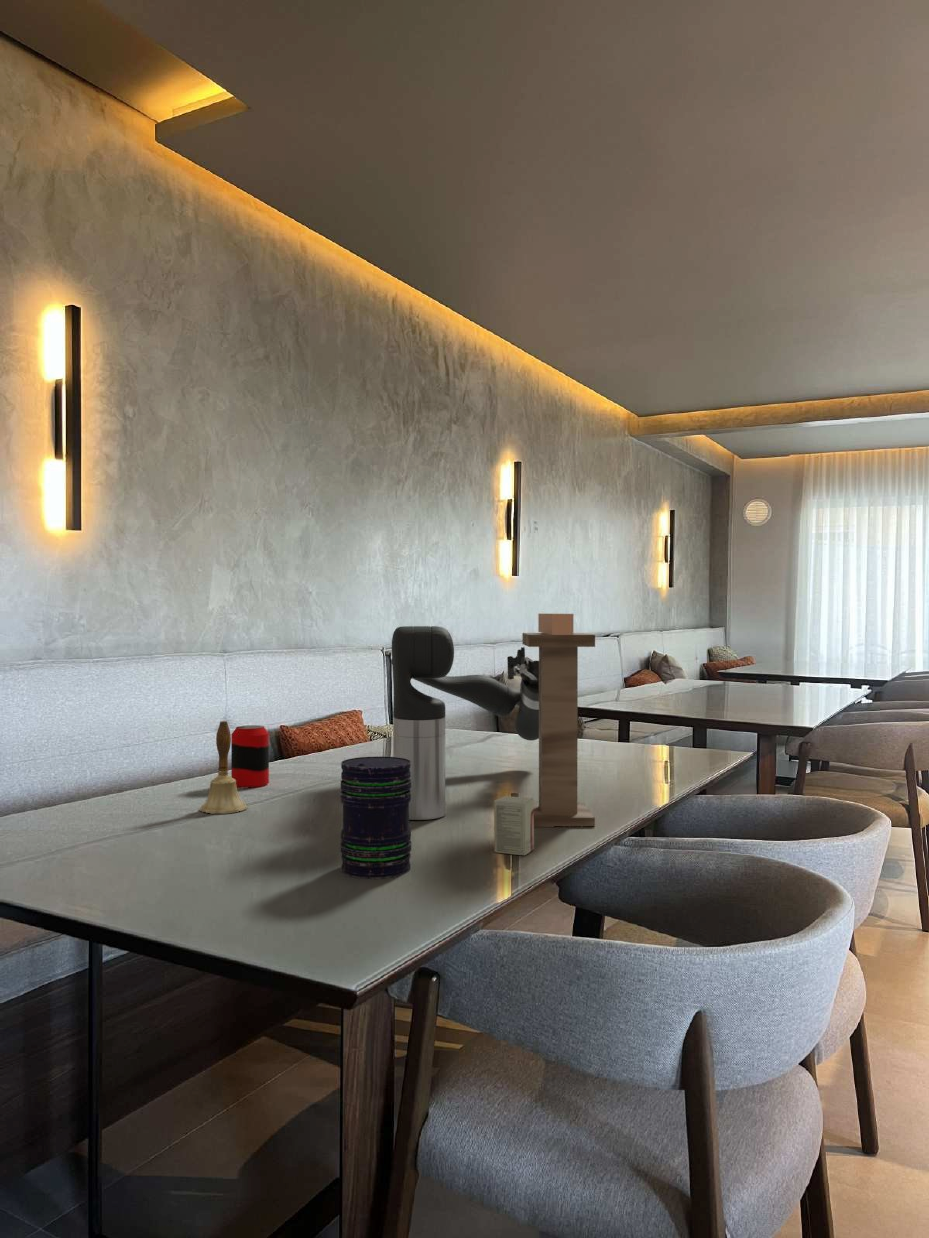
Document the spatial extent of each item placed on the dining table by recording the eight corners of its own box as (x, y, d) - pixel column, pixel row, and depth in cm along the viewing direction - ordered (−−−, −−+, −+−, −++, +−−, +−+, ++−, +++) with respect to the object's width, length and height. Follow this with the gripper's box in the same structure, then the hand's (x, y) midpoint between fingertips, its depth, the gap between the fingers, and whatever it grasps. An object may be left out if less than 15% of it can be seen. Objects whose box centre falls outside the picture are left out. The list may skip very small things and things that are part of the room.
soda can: (230, 782, 197) (230, 725, 197) (267, 780, 199) (267, 724, 199) (232, 789, 190) (232, 729, 189) (270, 787, 192) (270, 728, 192)
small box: (535, 849, 141) (535, 797, 141) (525, 856, 138) (525, 802, 137) (503, 846, 143) (503, 794, 143) (493, 852, 140) (493, 799, 139)
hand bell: (196, 807, 172) (196, 720, 172) (241, 803, 176) (241, 718, 175) (203, 816, 165) (203, 725, 164) (251, 811, 168) (251, 722, 168)
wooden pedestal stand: (594, 826, 157) (595, 634, 156) (528, 826, 156) (529, 634, 156) (582, 808, 171) (583, 632, 170) (522, 809, 170) (522, 632, 170)
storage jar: (376, 855, 138) (376, 754, 138) (426, 867, 132) (426, 760, 131) (325, 870, 130) (325, 762, 130) (376, 883, 124) (375, 770, 124)
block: (573, 634, 155) (573, 613, 155) (552, 634, 155) (552, 613, 155) (556, 631, 179) (556, 613, 179) (538, 631, 179) (538, 613, 179)
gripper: (572, 702, 200) (581, 667, 186) (505, 702, 200) (509, 667, 186) (570, 670, 204) (578, 634, 190) (504, 670, 204) (508, 634, 190)
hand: (544, 651), depth 188 cm, fingers open, 8 cm apart
